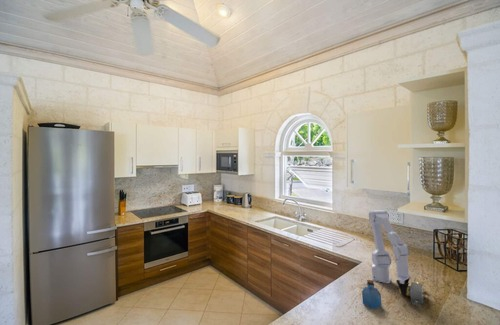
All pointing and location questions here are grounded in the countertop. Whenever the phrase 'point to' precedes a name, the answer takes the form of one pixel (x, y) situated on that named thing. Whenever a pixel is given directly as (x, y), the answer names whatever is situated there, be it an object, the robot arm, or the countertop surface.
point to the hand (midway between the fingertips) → (404, 292)
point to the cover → (420, 283)
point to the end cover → (407, 291)
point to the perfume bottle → (371, 295)
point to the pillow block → (416, 293)
